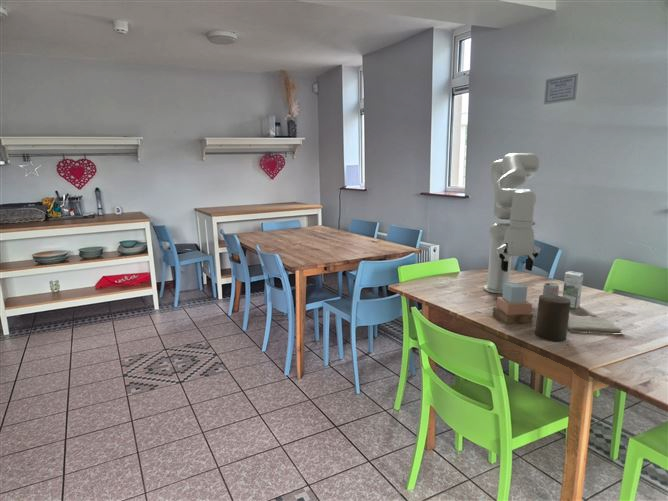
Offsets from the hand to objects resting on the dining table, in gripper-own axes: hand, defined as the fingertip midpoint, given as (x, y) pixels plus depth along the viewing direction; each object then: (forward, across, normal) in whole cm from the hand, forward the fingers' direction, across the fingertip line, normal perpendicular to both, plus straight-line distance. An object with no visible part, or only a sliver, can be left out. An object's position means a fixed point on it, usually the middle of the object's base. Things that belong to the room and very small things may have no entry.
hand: (516, 270), depth 158 cm
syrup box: (+20, -33, -11) cm, 40 cm away
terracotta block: (+16, 0, 0) cm, 16 cm away
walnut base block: (+20, 0, 0) cm, 20 cm away
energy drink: (+19, -18, -4) cm, 27 cm away
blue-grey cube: (+12, 0, 0) cm, 12 cm away
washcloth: (+20, -23, +12) cm, 33 cm away
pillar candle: (+19, -4, +17) cm, 26 cm away
